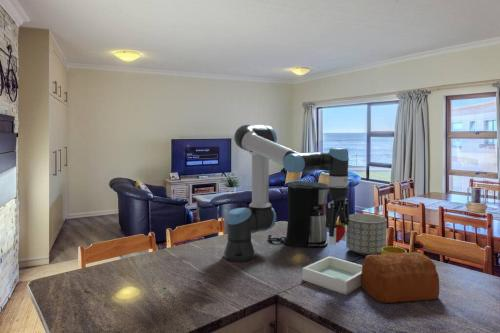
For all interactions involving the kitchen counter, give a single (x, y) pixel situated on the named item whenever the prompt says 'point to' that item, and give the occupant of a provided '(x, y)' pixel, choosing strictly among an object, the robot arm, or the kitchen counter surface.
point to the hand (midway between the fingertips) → (337, 241)
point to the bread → (400, 277)
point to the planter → (366, 234)
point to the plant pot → (392, 250)
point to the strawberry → (339, 231)
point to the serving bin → (334, 274)
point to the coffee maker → (306, 215)
